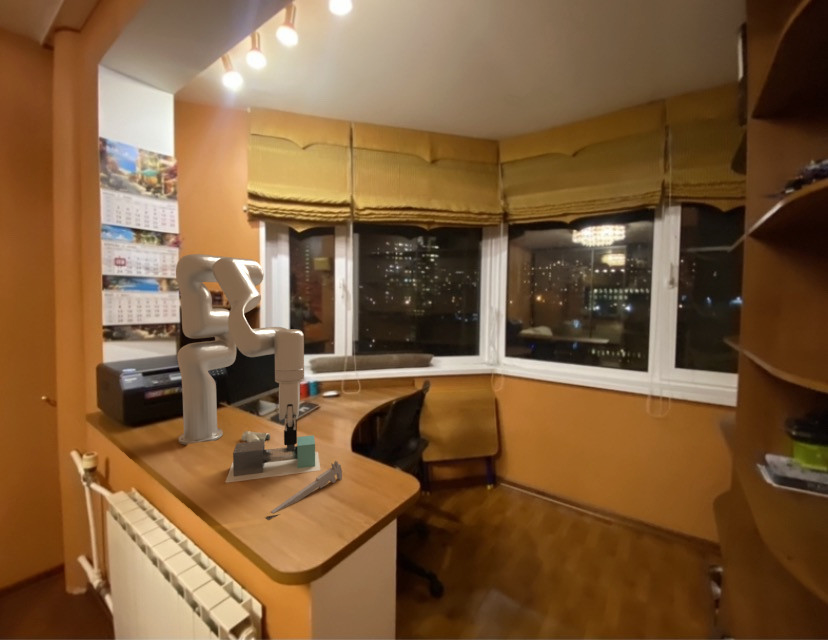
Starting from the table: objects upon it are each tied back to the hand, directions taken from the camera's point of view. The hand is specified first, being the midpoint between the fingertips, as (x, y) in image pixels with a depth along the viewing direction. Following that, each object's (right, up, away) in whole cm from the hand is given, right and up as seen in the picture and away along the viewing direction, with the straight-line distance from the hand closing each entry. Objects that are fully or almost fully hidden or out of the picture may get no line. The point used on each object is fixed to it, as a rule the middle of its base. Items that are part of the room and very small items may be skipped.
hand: (290, 438), depth 102 cm
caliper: (+9, -10, -15) cm, 20 cm away
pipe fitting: (-17, -7, +15) cm, 24 cm away
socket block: (+4, -7, +2) cm, 8 cm away
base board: (-4, -8, -1) cm, 9 cm away
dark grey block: (-10, -7, -3) cm, 13 cm away
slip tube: (-2, -6, 0) cm, 6 cm away
